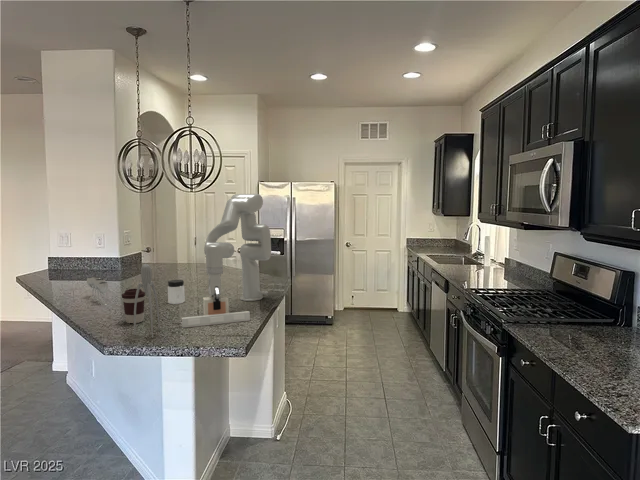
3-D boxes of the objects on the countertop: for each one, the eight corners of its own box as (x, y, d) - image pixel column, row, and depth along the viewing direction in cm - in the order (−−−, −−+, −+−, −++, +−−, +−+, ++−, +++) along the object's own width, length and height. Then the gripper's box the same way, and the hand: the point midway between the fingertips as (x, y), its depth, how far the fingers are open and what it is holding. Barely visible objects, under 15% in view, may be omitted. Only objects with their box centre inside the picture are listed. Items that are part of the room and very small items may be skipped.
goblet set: (111, 304, 238) (109, 280, 237) (99, 306, 234) (98, 281, 233) (97, 296, 259) (95, 274, 258) (86, 297, 255) (85, 275, 254)
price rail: (249, 319, 204) (248, 311, 204) (250, 320, 202) (249, 312, 202) (182, 326, 194) (181, 317, 193) (182, 328, 191) (182, 319, 191)
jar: (170, 305, 234) (169, 283, 233) (166, 302, 241) (165, 280, 240) (187, 302, 239) (186, 281, 238) (182, 299, 246) (181, 278, 245)
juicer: (138, 331, 188) (135, 262, 185) (160, 330, 188) (157, 261, 186) (130, 338, 177) (126, 265, 175) (153, 337, 178) (149, 265, 175)
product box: (203, 318, 208) (203, 297, 207) (227, 315, 212) (226, 295, 211) (205, 321, 202) (204, 300, 201) (229, 318, 206) (228, 298, 205)
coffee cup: (123, 325, 196) (121, 293, 195) (123, 320, 205) (121, 288, 204) (146, 323, 200) (145, 290, 199) (146, 317, 209) (144, 287, 208)
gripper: (204, 268, 211) (205, 304, 213) (208, 274, 195) (210, 312, 197) (220, 267, 214) (221, 302, 216) (225, 272, 198) (226, 311, 200)
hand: (216, 307), depth 206 cm, fingers open, 7 cm apart
